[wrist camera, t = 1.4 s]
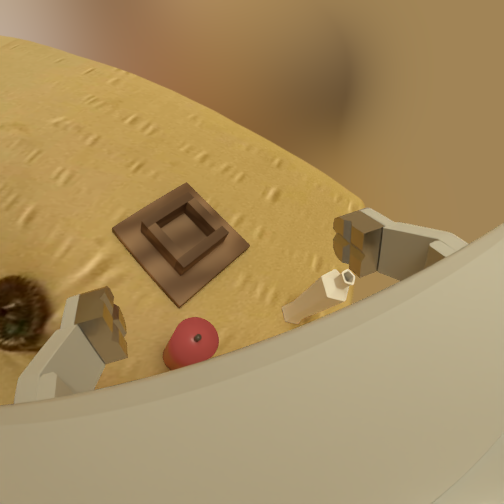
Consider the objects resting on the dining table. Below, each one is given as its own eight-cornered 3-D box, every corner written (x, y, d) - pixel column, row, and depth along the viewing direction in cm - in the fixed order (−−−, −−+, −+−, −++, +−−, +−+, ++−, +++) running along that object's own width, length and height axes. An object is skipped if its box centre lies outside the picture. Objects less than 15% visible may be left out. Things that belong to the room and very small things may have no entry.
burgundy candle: (156, 355, 37) (165, 335, 25) (178, 335, 39) (198, 305, 28) (179, 378, 36) (199, 369, 25) (200, 357, 39) (230, 338, 27)
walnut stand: (112, 231, 42) (111, 217, 39) (185, 185, 52) (190, 171, 48) (178, 308, 41) (183, 299, 38) (248, 248, 50) (256, 236, 47)
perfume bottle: (288, 331, 46) (347, 300, 33) (275, 308, 47) (328, 269, 35) (309, 319, 48) (368, 286, 36) (296, 297, 49) (351, 257, 37)
